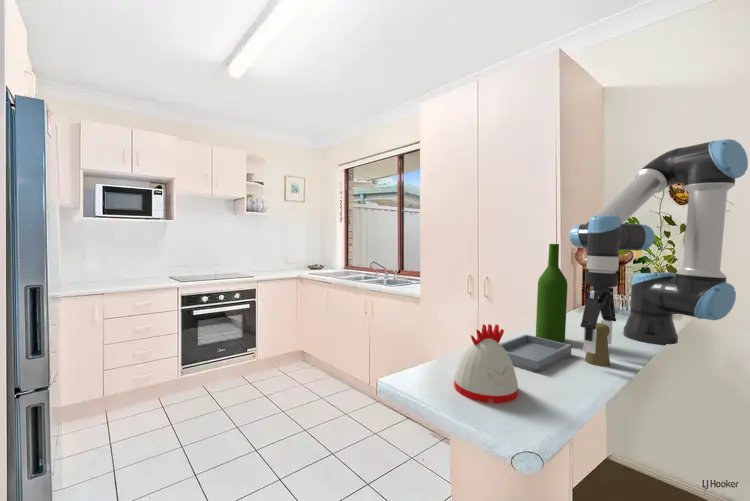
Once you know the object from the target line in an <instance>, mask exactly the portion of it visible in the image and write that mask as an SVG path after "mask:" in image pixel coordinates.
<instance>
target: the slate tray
mask: <svg viewBox="0 0 750 501" xmlns="http://www.w3.org/2000/svg"><path fill="white" fill-rule="evenodd" d="M499 344H500V345H501V346H502V347H503V348H504V349H505V350H506V352H507V353H508V355H509V357H510V359H511V361H512V364H513V367H517V368H519V369H523V370H525V371H530V372H532V373H537V374H539V373H541V372H542V371H545V369H548V368H549V367H552V366H553V365H555V364H557V363H559V362H560V361H562V360H565V359H567V358H569V357H570V356H572V346H573V345H572V344H570V343H565V342H564V343H561V342H557V341H552V340H548V339H544V338H539V337H536V335H535V336H534V335H530V334H523V335H520V336H517V337H514V338H511V339H508V340H506V341H503V342H501V343H500V342H499Z"/></svg>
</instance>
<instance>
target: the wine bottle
mask: <svg viewBox="0 0 750 501" xmlns="http://www.w3.org/2000/svg"><path fill="white" fill-rule="evenodd" d="M548 245H549V246H548V260H547V261H548V262H547V267H546V268H545V269H544V271H543V272H542V274H541V275H540V276H539V277H538V281H537V295H536V296H537V298H536V300H537V301H536V321H535V324H536V325H535V337H539V338H544V339H548V340H552V341H557V342H561V343H565V341H566V328H567V327H566V325H567V308H568V306H567V305H568V304H567V302H568V300H567V299H568V281H567V280H568V279H567V278H566V277H565V275H564V273H563V272H562V270H561V269H560V266H559V263H560V260H559V259H560V258H559V257H560V244H559V243H549V244H548Z"/></svg>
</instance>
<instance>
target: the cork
mask: <svg viewBox="0 0 750 501" xmlns="http://www.w3.org/2000/svg"><path fill="white" fill-rule="evenodd" d="M595 329H597V332H596V351H595V354H593V353H589V352H585V357H584V362H586V363H588V364H589V365H593V366H598V367H610V365H611V360H610V351H609V344H608V340H607V336H608V335H609V333H610V328H609V327H608V326H607V325H605V324H602V323H601V322H597V323H596V327H595Z"/></svg>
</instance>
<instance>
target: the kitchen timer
mask: <svg viewBox="0 0 750 501" xmlns="http://www.w3.org/2000/svg"><path fill="white" fill-rule="evenodd" d="M493 328H494V329H493ZM499 328H500V325H499V324H495V325H494V327H493V326H492V324H490V323H489V324H488V325H486V324H482V327H481V331H480V329H476V330H475V331H476V336H477V338H475V336H474V335H472V334H470V338H471V343H470V344H468V346H466V348H465V349H464V351H463V352H462V354H461V356H460V358H459V360H458V363H457V365H456V368H455V373H454V377H453V378H454V379H453V387H454V389H455V391H456V392H457V393H458V394H460V395H461V396H463V397H464V398H468V399H470V400H473V401H476V402H481V403H485V404H505V403H509V402H513V401H514V400H516V399H517V397H518V396H519V394H518V393H519V384H518V380H517V375H516V370H515V366H513V364H512V361H511V359H510V357H509V355H508V353H507V352H506V350H505V349H504V348H503V347H502V346H501V345H500V342H501V339H502V338H503V336H504V331H505V329H503V328H501V329H499Z"/></svg>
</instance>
